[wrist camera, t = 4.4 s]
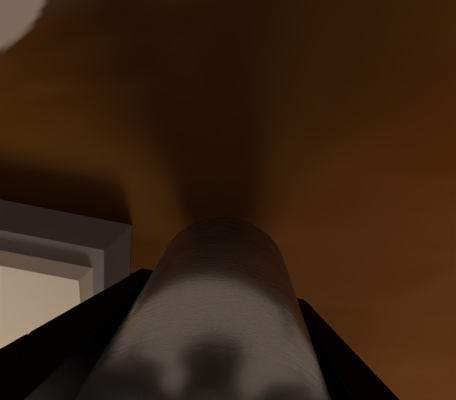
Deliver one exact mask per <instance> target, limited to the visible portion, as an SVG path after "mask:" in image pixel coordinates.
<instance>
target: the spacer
mask: <svg viewBox="0 0 456 400" xmlns="http://www.w3.org/2000/svg"><path fill="white" fill-rule="evenodd" d="M75 400H331V398H330V395H329V392H328V389H327V386H326V383H325V380H324V377H323V374H322V371H321V368H320V365H319V362H318V359H317V356H316V353H315V350H314V347H313V344H312V342H311V339H310V336H309V333H308V330H307V327H306V324H305V321H304V318H303V315H302V312H301V309H300V306H299V303H298V300H297V297H296V294H295V291H294V288H293V285H292V283H291V280H290V277H289V274H288V271H287V268H286V265H285V262H284V259H283V256H282V254H281V251H280V250H279V248H278V246H277V245H276V243H275V242H274V241H273V240H272V238H270V237H269V236H268V235H267V234H266V233H265V232H264V231H262V230H261V229H259V228H258V227H256V226H254V225H252V224H250V223H247V222H245V221H241V220H237V219H232V218H211V219H206V220H202V221H199V222H196V223H194V224H192V225H190V226H188V227H186V228H185V229H183V230H182V231H181V232H179V233H178V234H177V235H176V236H175V237H174V239H173V240H172V241H171V243H170V244H169V246H168V248H167V249H166V251H165V252H164V254H163V256H162V257H161V259H160V261H159V262H158V264H157V265H156V267H155V269H154V270H153V272H152V274H151V275H150V277H149V278H148V280H147V282H146V283H145V285H144V287H143V288H142V290H141V291H140V293H139V295H138V296H137V298H136V300H135V301H134V303H133V304H132V306H131V308H130V309H129V311H128V313H127V314H126V316H125V317H124V319H123V321H122V322H121V324H120V326H119V327H118V329H117V331H116V332H115V334H114V335H113V337H112V339H111V340H110V342H109V344H108V345H107V347H106V348H105V350H104V352H103V353H102V355H101V357H100V358H99V360H98V361H97V363H96V365H95V366H94V368H93V370H92V371H91V373H90V374H89V376H88V378H87V379H86V381H85V383H84V384H83V386H82V387H81V389H80V391H79V393H78V395H77V396H76V398H75Z"/></svg>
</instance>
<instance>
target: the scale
mask: <svg viewBox="0 0 456 400" xmlns="http://www.w3.org/2000/svg"><path fill="white" fill-rule="evenodd" d="M131 238H132V225H129V224H124V223H119V222H114V221H108V220H103V219H98V218H93V217H88V216H83V215H78V214H73V213H67V212H62V211H57V210H52V209H47V208H42V207H37V206H32V205H27V204H21V203H16V202H11V201H6V200H1V199H0V348H2V347H4V346H6V345H8V344H9V343H11V342H13V341H15V340H16V339H18V338H20V337H22V336H24V335H25V334H28V335H29V333H30V332H31V331H33V330H34V329H36V328H38V327H40V326H41V325H43V324H45V323H47V322H48V321H50V320H52V319H54V318H55V317H57V316H59V315H61V314H62V313H64V312H66V311H68V310H69V309H71V308H73V307H75V306H76V305H78V304H80V303H82V302H83V301H85V300H87V299H89V298H91V297H92V296H94V295H96V294H98V293H99V292H101V291H103V290H105V289H106V288H108V287H110V286H112V285H113V284H115V283H117V282H119V281H120V280H122V279H124V278H126V277H127V276H129V275H130V259H131Z"/></svg>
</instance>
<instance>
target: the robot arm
mask: <svg viewBox="0 0 456 400" xmlns="http://www.w3.org/2000/svg"><path fill="white" fill-rule="evenodd" d="M152 272H153V271H152V270H149V269H144V268H142V269H140V270H138V271H136V272H134V273H133V274H131V275H129V276H127V277H126V278H124V279H122V280H120V281H119V282H117V283H115V284H113V285H112V286H110V287H108V288H106V289H105V290H103V291H101V292H99V293H98V294H96V295H94V296H92V297H91V298H89V299H87V300H85V301H83V302H82V303H80V304H78V305H76V306H75V307H73V308H71V309H69V310H68V311H66V312H64V313H62V314H61V315H59V316H57V317H55V318H54V319H52V320H50V321H48V322H47V323H45V324H43V325H41V326H40V327H38V328H36V329H34V330H33V331H31V332H30V333H29V335H28V334H25V335H24V336H22V337H20V338H18V339H16V340H15V341H13V342H11V343H9V344H8V345H6V346H4V347H2V348H0V400H75V398H76V396H77V395H78V393H79V391H80V389H81V387H82V386H83V384H84V383H85V381H86V379H87V378H88V376H89V374H90V373H91V371H92V370H93V368H94V366H95V365H96V363H97V361H98V360H99V358H100V357H101V355H102V353H103V352H104V350H105V348H106V347H107V345H108V344H109V342H110V340H111V339H112V337H113V335H114V334H115V332H116V331H117V329H118V327H119V326H120V324H121V322H122V321H123V319H124V317H125V316H126V314H127V313H128V311H129V309H130V308H131V306H132V304H133V303H134V301H135V300H136V298H137V296H138V295H139V293H140V291H141V290H142V288H143V287H144V285H145V283H146V282H147V280H148V278H149V277H150V275H151V274H152ZM297 300H298V303H299V306H300V309H301V312H302V315H303V318H304V321H305V324H306V327H307V330H308V333H309V336H310V339H311V342H312V344H313V347H314V350H315V353H316V356H317V359H318V362H319V365H320V368H321V371H322V374H323V377H324V380H325V383H326V386H327V389H328V392H329V395H330V398H331V400H399V399H398V398H397V397H396V396H395V395H394V394H393V393H392V392H391V390H390V389H389V388H388V387H387V386H386V385H385V384H384V383H383V382H382V381H381V380H380V379H379V378H378V377H377V376H376V375H375V374H374V373H373V371H372V370H371V369H370V368H369V367H368V366H367V365H366V364H365V363H364V362H363V361H362V360H361V359H360V358H359V357H358V356H357V355H356V353H355V352H354V351H353V350H352V349H351V348H350V347H349V346H348V345H347V344H346V343H345V342H344V341H343V340H342V339H341V338H340V337H339V336H338V334H337V333H336V332H335V331H334V330H333V329H332V328H331V327H330V326H329V325H328V324H327V323H326V322H325V321H324V320H323V319H322V318H321V317H320V315H319V314H318V313H317V312H316V311H315V310H314V309H313V308H312V307H311V306H310V305H309V304H308V303H307V302H306V301H305V300H303V299H299V298H297Z"/></svg>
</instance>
